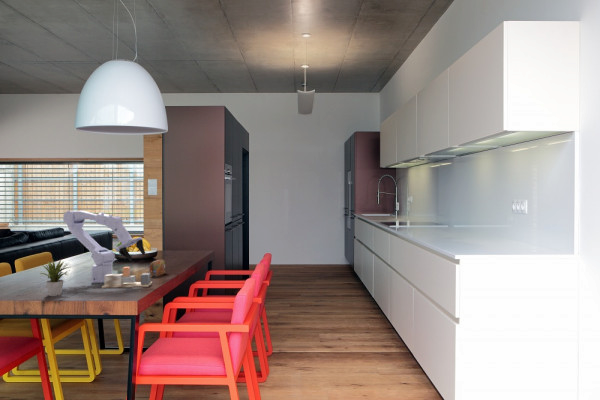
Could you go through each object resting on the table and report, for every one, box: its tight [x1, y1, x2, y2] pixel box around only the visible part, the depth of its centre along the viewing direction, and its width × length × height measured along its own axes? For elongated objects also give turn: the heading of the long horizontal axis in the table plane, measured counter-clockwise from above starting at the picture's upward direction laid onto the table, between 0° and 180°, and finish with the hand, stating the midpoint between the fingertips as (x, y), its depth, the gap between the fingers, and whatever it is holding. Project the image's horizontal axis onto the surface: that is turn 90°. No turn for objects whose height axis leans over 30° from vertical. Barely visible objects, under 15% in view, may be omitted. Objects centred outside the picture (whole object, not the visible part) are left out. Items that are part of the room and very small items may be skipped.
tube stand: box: [101, 273, 153, 289], centre depth 237 cm, size 22×10×5 cm, turn 97°
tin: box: [149, 259, 167, 277], centre depth 268 cm, size 15×3×8 cm, turn 168°
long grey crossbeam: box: [122, 266, 137, 283], centre depth 236 cm, size 14×3×8 cm, turn 97°
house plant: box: [39, 258, 71, 297], centre depth 213 cm, size 14×14×16 cm
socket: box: [140, 272, 151, 285], centre depth 238 cm, size 4×6×5 cm, turn 7°
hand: (137, 257), depth 241 cm, fingers open, 7 cm apart
